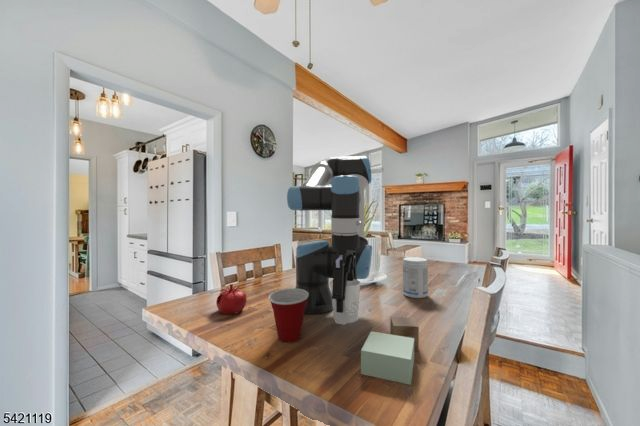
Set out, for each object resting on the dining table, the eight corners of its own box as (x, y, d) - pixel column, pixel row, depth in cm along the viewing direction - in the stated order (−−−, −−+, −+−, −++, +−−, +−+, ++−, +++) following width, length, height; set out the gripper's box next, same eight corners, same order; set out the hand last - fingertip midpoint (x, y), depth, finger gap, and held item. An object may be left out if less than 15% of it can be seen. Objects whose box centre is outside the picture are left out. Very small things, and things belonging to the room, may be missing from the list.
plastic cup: (259, 342, 74) (259, 296, 74) (284, 326, 83) (283, 286, 83) (294, 351, 69) (294, 302, 69) (316, 334, 78) (316, 291, 78)
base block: (361, 373, 59) (361, 350, 59) (371, 351, 69) (370, 331, 69) (410, 384, 56) (410, 359, 56) (414, 359, 65) (414, 338, 65)
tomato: (251, 307, 101) (251, 281, 101) (238, 317, 91) (239, 288, 91) (224, 305, 102) (225, 279, 102) (210, 315, 93) (210, 286, 93)
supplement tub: (419, 291, 120) (419, 256, 120) (432, 298, 111) (433, 260, 110) (398, 292, 118) (398, 257, 118) (410, 299, 109) (410, 261, 108)
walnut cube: (393, 349, 70) (393, 325, 70) (390, 338, 76) (390, 316, 76) (418, 351, 69) (418, 326, 69) (413, 340, 75) (413, 317, 75)
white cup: (340, 327, 72) (340, 288, 71) (325, 315, 79) (325, 280, 78) (366, 320, 75) (366, 283, 75) (349, 310, 82) (349, 276, 82)
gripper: (348, 239, 65) (348, 336, 66) (367, 230, 84) (367, 306, 85) (318, 237, 68) (318, 330, 69) (343, 229, 87) (343, 302, 88)
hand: (345, 317), depth 77 cm, fingers closed on white cup, 7 cm apart
